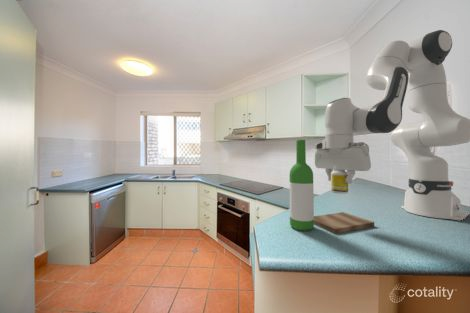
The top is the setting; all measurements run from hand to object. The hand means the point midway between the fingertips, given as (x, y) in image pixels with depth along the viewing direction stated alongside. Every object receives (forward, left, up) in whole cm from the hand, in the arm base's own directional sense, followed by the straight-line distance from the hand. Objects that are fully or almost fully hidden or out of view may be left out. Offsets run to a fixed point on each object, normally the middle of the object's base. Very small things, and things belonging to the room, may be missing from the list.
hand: (339, 182), depth 65 cm
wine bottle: (+15, -2, -15) cm, 22 cm away
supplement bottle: (0, 0, -4) cm, 4 cm away
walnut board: (0, 0, -15) cm, 15 cm away
